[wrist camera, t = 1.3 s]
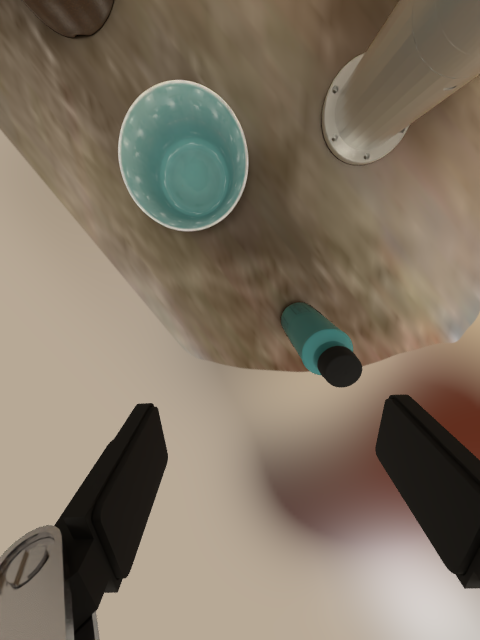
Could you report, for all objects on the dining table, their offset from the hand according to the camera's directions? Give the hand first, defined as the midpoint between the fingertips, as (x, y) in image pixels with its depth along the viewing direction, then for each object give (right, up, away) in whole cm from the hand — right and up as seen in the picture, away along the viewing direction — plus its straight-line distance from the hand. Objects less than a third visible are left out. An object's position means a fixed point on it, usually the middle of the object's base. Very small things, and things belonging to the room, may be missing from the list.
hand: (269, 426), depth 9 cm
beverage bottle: (+9, +5, +32) cm, 34 cm away
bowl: (-8, +26, +25) cm, 37 cm away
